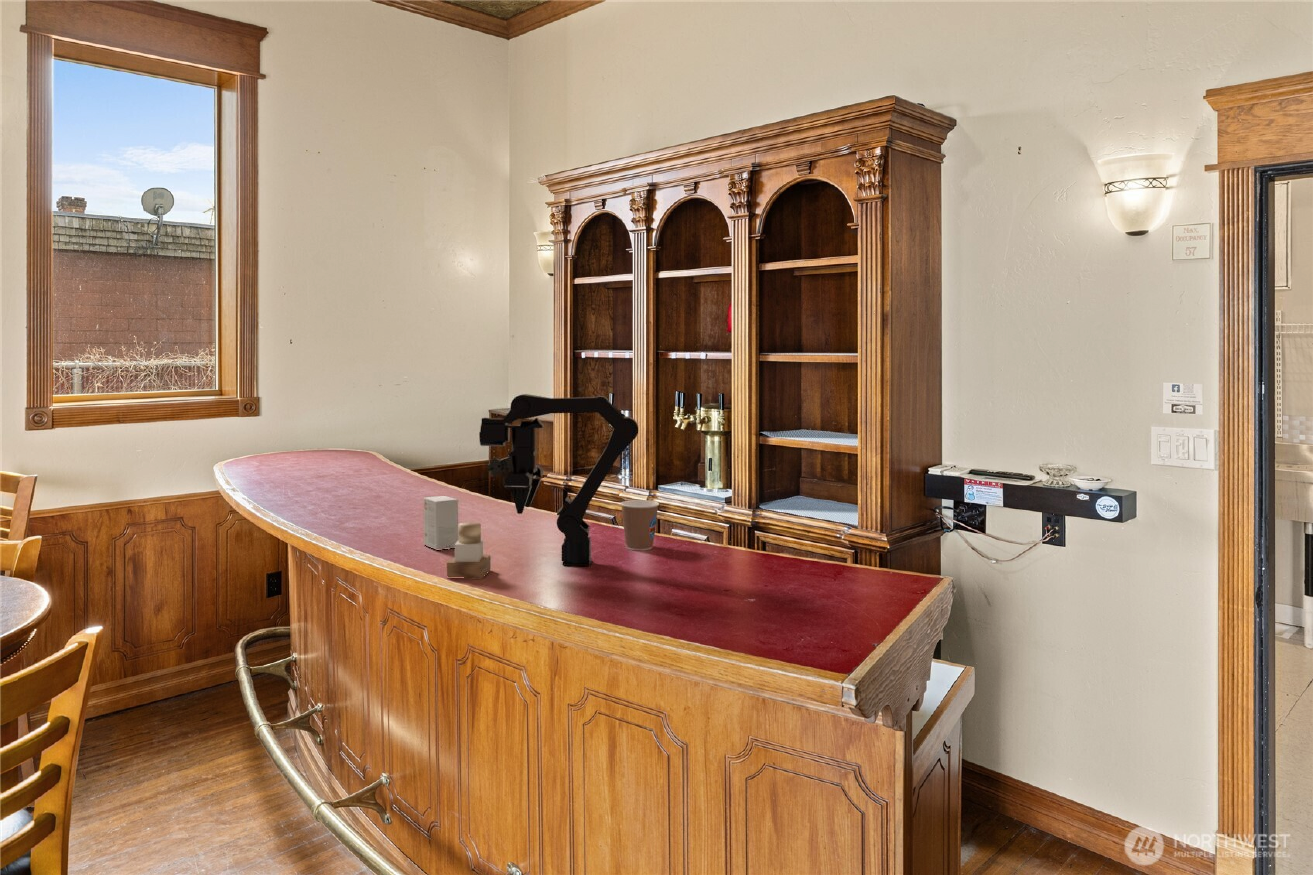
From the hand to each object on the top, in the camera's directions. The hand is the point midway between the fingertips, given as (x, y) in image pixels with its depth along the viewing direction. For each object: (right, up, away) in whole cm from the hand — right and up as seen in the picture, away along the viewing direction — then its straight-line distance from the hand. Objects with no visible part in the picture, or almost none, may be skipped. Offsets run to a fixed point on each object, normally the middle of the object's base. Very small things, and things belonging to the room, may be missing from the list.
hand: (523, 510), depth 202 cm
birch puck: (-11, -6, -11) cm, 16 cm away
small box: (-24, -11, +17) cm, 32 cm away
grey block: (-11, -10, -11) cm, 19 cm away
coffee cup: (+28, -12, +20) cm, 36 cm away
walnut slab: (-11, -14, -10) cm, 21 cm away
